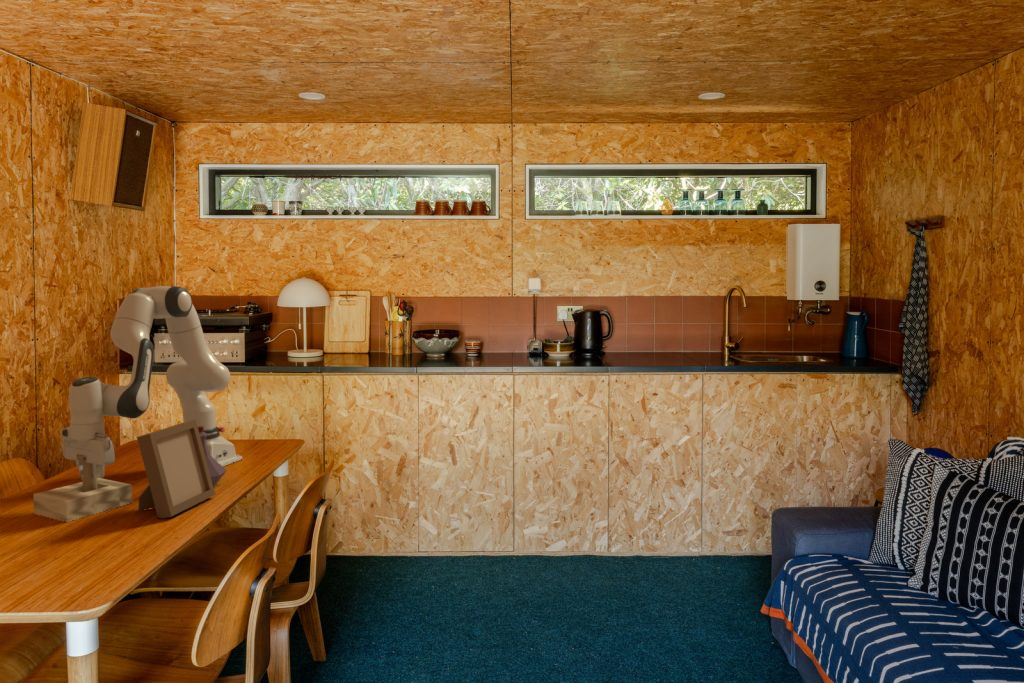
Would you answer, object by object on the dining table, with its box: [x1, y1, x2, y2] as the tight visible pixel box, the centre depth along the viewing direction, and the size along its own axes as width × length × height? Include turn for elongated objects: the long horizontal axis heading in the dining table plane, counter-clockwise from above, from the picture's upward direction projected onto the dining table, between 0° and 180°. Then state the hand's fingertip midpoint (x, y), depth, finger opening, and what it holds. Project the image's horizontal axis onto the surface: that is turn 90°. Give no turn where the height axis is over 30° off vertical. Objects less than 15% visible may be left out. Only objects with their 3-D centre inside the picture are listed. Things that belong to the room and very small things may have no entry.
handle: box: [76, 454, 98, 492], centre depth 220 cm, size 5×6×15 cm
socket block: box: [32, 478, 133, 523], centre depth 219 cm, size 20×16×6 cm
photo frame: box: [136, 420, 216, 519], centre depth 220 cm, size 15×22×25 cm
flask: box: [198, 426, 228, 487], centre depth 244 cm, size 16×16×20 cm
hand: (89, 476), depth 220 cm, fingers closed on handle, 5 cm apart
